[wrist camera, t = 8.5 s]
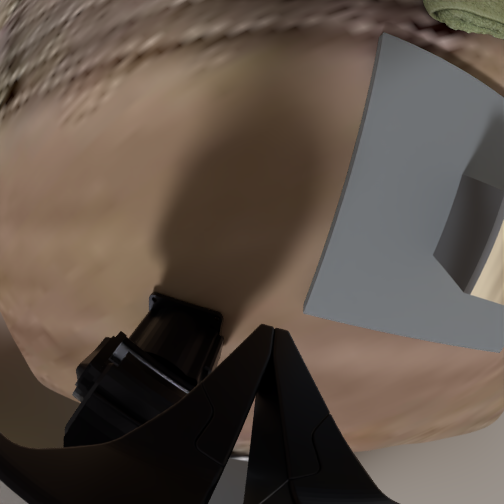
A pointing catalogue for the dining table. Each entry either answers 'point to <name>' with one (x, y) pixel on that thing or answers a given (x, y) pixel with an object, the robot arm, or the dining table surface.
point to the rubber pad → (411, 203)
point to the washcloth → (469, 15)
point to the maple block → (475, 240)
